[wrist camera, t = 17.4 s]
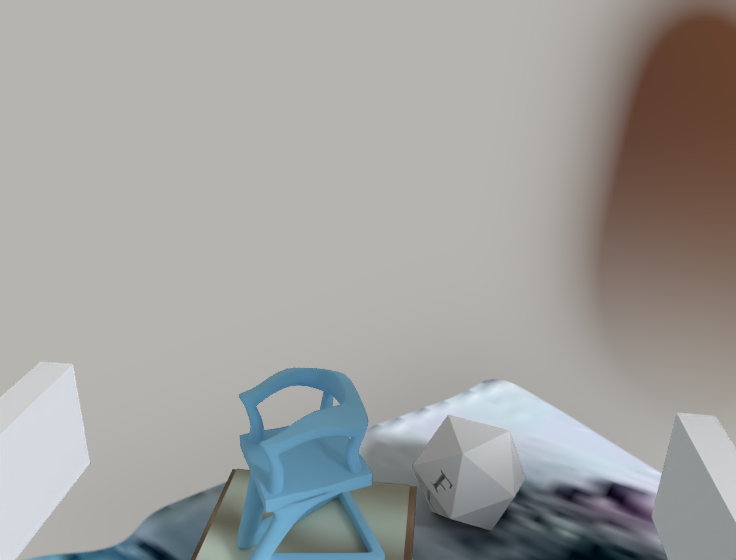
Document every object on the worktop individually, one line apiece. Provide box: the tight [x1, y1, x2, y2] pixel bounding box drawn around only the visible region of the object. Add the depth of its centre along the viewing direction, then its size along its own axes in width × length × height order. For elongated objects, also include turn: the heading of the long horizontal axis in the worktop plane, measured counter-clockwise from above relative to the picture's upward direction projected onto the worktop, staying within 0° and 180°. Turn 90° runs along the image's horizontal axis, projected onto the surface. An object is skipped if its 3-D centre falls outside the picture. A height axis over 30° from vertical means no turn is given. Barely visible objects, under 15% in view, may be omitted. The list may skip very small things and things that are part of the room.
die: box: [412, 415, 525, 531], centre depth 54 cm, size 8×9×10 cm
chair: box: [237, 368, 385, 560], centre depth 41 cm, size 8×8×12 cm
